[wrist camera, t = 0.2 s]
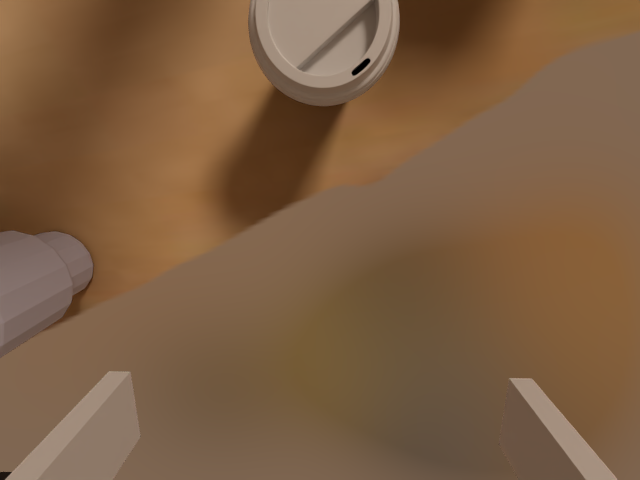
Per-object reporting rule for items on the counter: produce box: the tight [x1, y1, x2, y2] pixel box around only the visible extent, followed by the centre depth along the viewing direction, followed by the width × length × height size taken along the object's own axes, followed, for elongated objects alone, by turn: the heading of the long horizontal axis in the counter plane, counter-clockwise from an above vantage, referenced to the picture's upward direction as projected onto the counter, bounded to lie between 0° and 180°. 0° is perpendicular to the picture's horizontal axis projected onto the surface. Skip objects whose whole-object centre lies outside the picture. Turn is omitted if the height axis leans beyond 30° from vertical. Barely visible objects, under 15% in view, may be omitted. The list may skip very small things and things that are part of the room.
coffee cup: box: [248, 0, 400, 106], centre depth 28 cm, size 10×10×15 cm
